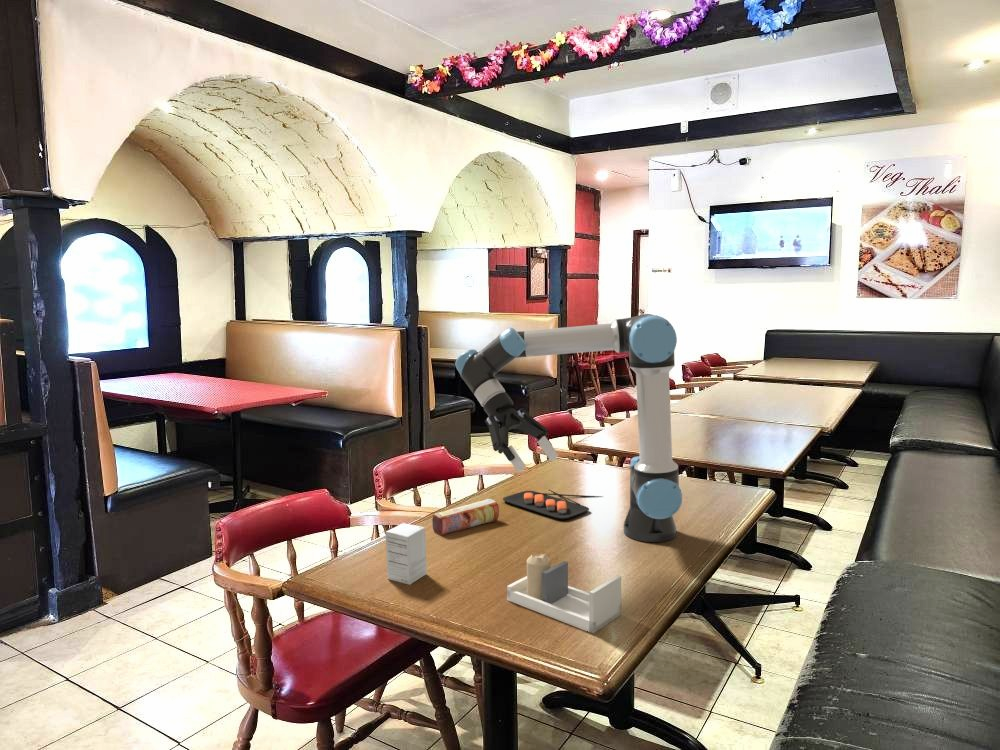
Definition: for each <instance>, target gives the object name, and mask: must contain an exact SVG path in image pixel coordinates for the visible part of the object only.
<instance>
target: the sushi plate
mask: <svg viewBox="0 0 1000 750" xmlns="http://www.w3.org/2000/svg"><path fill="white" fill-rule="evenodd" d="M548 491H549V492H550V491H551V493H543V492H538V491H535V490H525V491H520V492H518V493H517V492H516V493H513V494H509V495H507V496H505V497H503V498H502V500H503V501H504V502H505V503H508V504H512V505H514V506H516V507H520V508H523V509H526V510H529V511H532V512H536V513H538V514H542V515H545V516H547V517H550V518H554V519H560V520H566V519H571V518H573V517H576V516H579V515H582V514H584V513H587V512H588V511H589V510H590V508H589V507H588V506H585V505H582V504H580V503H579V502H577V501H574V500H572V499H570V498H568V497H574V498H575V497H576V498H604V495H602V496H601V495H582V494H580V495H579V494H578V495H577V494H566V493H565V494H563V493H561V494H560V493H558V492H555V491H553V490H551V489H549V490H548ZM552 492H553V493H552ZM556 496H557V497H556ZM566 496H567V497H566ZM559 497H560V498H559Z"/></svg>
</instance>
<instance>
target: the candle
mask: <svg viewBox="0 0 1000 750" xmlns="http://www.w3.org/2000/svg"><path fill="white" fill-rule="evenodd" d="M549 568H551V559H550V558H549V557H548V556H547V555H546V554H545V553H532V554H531V555H530V556H529V557H528V558H527V559H526V576H527V595H528V596H531V597H534V598H536V599H539V600H542V572H544V571H546V570H548V569H549Z"/></svg>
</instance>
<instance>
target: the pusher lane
mask: <svg viewBox="0 0 1000 750" xmlns="http://www.w3.org/2000/svg"><path fill="white" fill-rule="evenodd" d="M506 599H507V601H509V602H510V603H513V604H515V605H518V606H521V607H524V608H526V609H528V610H531V611H534V612H536V613H539V614H542V615H544V616H546V617H549V618H552V619H555V620H557V621H559V622H561V623H565V624H567V625H570V626H573V627H575V628H577V629H580V630H582V631H585V632H587V631H588V633H590V634H593V633H594V634H595V633H596V632H598V631H599V630H600V629H603V628H604V627H605V626H607V625H609V624H610V623H611V622H612V621H614V620H615V619H617V618H618V617H620V616H621V614H622V575H619V574H616V575H615V576H613V577H611V578H610V579H608V580H607V581H605V582H603V583H602V584H599V585H598V586H597V587H595V588H593V589H592V590H590V591H589V592H587V591H585V590H582V589H579V588H577V587H576V588H575V587H573V586H569V585H568V594H567V595H565V596H563V597H562V598H560V599H558V600H557V601H555V602H553V603H551V604H550V603H547V602H544V601H542V600H539V599H536V598H534V597H531V596H528V595H527V575H526V576H523V577H522V578H520V579H518V580H516V581H514V582H512V583H510V584H509V585H507V586H506Z"/></svg>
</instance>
